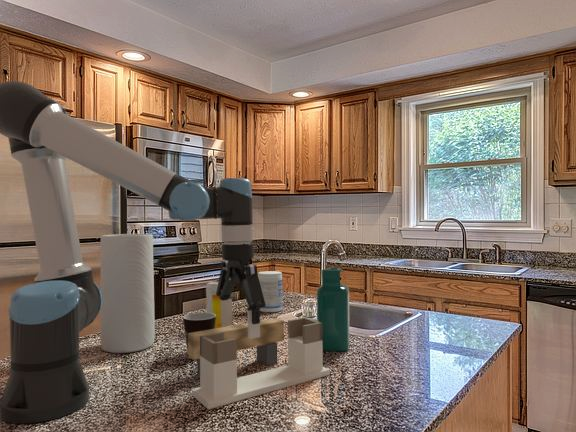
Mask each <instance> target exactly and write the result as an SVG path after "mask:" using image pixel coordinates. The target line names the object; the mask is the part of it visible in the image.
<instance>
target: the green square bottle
mask: <svg viewBox="0 0 576 432" xmlns="http://www.w3.org/2000/svg"><path fill="white" fill-rule="evenodd" d="M341 272H343V269H342V268H339V267H327V268H324V269H322V270H321V285H320V286H319V287H318V288H317V290H316V316H317V317H316V321H318V322H321V323H322V342H323V351H328V352H331V351H332V352H346V351H348V350H349V347H350V335H351V334H350V289H349V286H348V285H346V284H344V283H341Z"/></svg>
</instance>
